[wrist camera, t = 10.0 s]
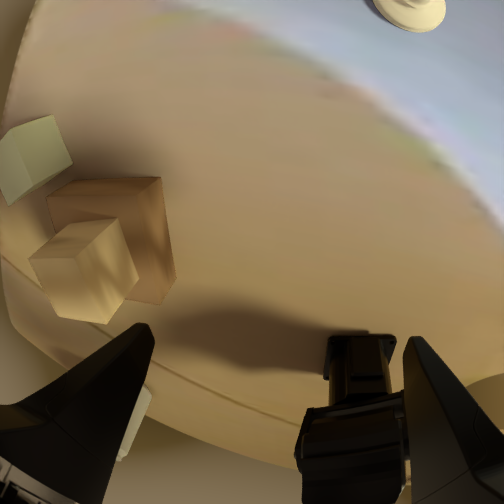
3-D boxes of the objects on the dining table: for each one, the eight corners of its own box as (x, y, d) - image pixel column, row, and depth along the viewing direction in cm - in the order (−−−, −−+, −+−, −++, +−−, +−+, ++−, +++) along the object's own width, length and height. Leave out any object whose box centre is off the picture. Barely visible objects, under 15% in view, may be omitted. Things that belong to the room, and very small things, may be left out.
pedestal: (178, 275, 26) (159, 305, 23) (98, 265, 27) (75, 289, 24) (163, 175, 21) (136, 195, 18) (75, 179, 23) (45, 197, 19)
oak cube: (139, 278, 21) (106, 324, 17) (92, 277, 23) (58, 316, 18) (117, 218, 19) (74, 257, 15) (69, 223, 20) (28, 258, 16)
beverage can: (142, 374, 36) (106, 448, 26) (160, 400, 39) (131, 467, 29) (107, 367, 38) (70, 433, 28) (126, 392, 41) (96, 454, 31)
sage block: (73, 163, 21) (33, 185, 17) (44, 184, 23) (8, 206, 19) (53, 114, 19) (10, 128, 15) (25, 140, 21) (-13, 157, 17)
